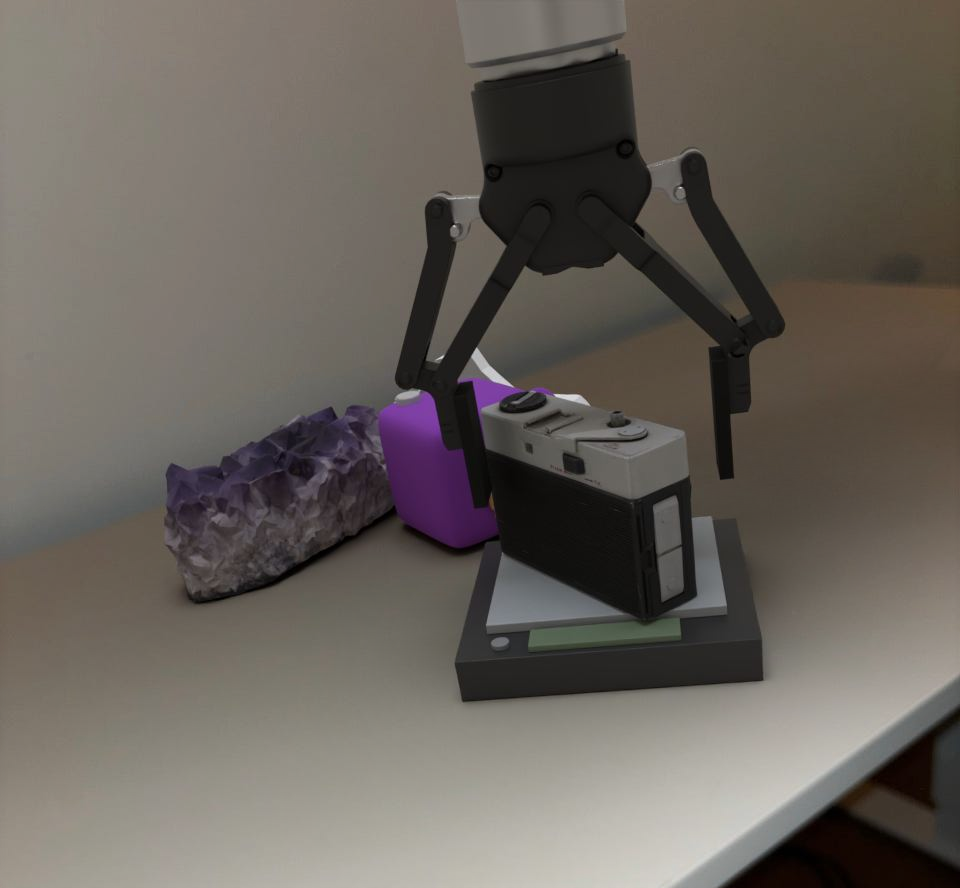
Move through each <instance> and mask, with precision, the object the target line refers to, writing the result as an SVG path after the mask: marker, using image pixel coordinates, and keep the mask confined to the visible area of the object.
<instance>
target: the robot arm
mask: <svg viewBox="0 0 960 888" xmlns="http://www.w3.org/2000/svg"><path fill="white" fill-rule="evenodd" d="M625 5H626V4H625V0H455V7H456V12H457V18H458V23H459V30H460V36H461V41H462V48H463V54H464V59H465V60H464V61H465V64H466V65H467V66H468V67H469V68H470V69H479V73H480V78H481V80H480V81H477V82H475V83H473V88H474V89H473V90H471V91H470V98H471V103H472V109H473V110H472V111H473V116H474V123H475V129H476V134H477V140H478V148H479V153H480V159H481V166H482V171H483V172H482V173H483V183H482V184H483V185H482V189H481V193H477V194H456V195H453V194H452V193H451V192H449V191H447V190H440V191H438V192H436V193H435V194H434V195H433V196H432V197H431V198H430V199H429V200H428V201H427V202H426V204H425V206H424V222H425V233H426V244H427V245H426V246H427V248H426V253H425V256H424V260H423V264H422V268H421V272H420V275H419V279H418V284H417V288H416V292H415V296H414V298H413V299H414V300H413V303H412V307H411V311H410V315H409V319H408V323H407V325H406V331H405V334H404V338H403V342H402V347H401V351H400V354H399V358H398V362H397V366H396V370H395V374H394V382H395V384H396V386H397V387H398V388H399V389H401V390H403V391H410V390H411V389H412V388H413V389H418V390H422V391H423V392H427V393H429V394H430V395H431V396H432V397H433V399H434V402H435V406H436V411H437V416H438V421H439V425H440V431H441V436H442V441H443V444H444V445H445V447H446V448H447V450H448V451H451V450H459V449H463V453H464V458H465V464H466V469H467V474H468V479H469V484H470V489H471V494H472V500H473V505H474V509H478V508H487V507H488V503H489V499H490V496H491V492H492V484H491V478H490V473H489V467H488V462H487V457H486V451H485V446H484V440H483V435H482V429H481V424H480V418H479V413H478V407H477V402H476V396H475V391H474V385H473V381H466V382H459V385H458V378H459V377H460V375H461V373H462V371H463V370H464V368H465V366H466V365H467V363H468V361H469V360H470V358H471V356H472V354H473V353H474V351H475V349H476V348H478V346H479V344H480V343H481V341H482V339H483V338H484V336H485V334H486V332H487V331H488V329H489V327H490V326H491V324H492V322H493V320H494V319H495V317H496V315H497V314H498V312H499V310H500V309H501V307H502V306H503V303H504V302H505V300H506V298H507V297H508V295H509V294H510V292H511V290H512V289H513V287H514V286H515V284H516V282H517V280H518V278H520V275H521V274H522V272H523V270H524V268H525V267H526V268H527V269H529V270H530V271H533V272H535V273H538V274H541V276H542V277H545V276H552V275H558V274H560V273H562V272H565V271H567V270H569V269H572V268H578V269H587V270H589V269H595V268H602V267H605V264H607V263H608V262H610V261H612V260H613V259H614V258H615V257H616V256H617V255H618V254H619V255H620V256H621V257H622V258H623V259H624V260H626V262H627V263H628V264H630V265H631V266H632V267H633V268H634V269H636V270H637V271H638V272H640V273H642V274H643V275H644V276H645V277H646V278H647V279H648V280H649V281H650V282H651V283H653V284H654V286H656V288H657V289H658V290H660V291H661V292H662V293H663V294H664V295H665V296H666V297H667V298H669V299H670V301H671V302H672V303H673V304H675V305H676V306H677V307H678V308H679V309H680V310H681V311H682V312H683V313H684V314H686V316H688V318H690V320H692V321H693V322H694V323H695V324H696V325H697V326H698V327H699V328H701V330H703V331H704V332H705V333H706V334H707V335H708V336H709V337H710V338H711V339H712V340H713V341H714V342H715V343H717V345H716V346H708V347H707V348H708V349H707V350H708V361H709V375H710V376H709V377H710V390H711V405H712V419H713V420H712V421H713V433H714V447H715V448H714V449H715V462H716V466H717V472H718V478H719V480H720V481H723V480H724V481H725V480H733V479H735V471H734V467H735V466H734V453H733V435H732V421H731V420H732V419H731V415H734V414H735V415H736V414H743V413H749V411H750V408H751V405H752V387H751V386H752V385H751V370H750V369H751V367H750V355H751V352H752V350H753V349H754V347H756V346H757V345H758V344H760V343H761V342H764V341H766V340H768V339H775V338H779V337H780V336H781V335H782V334H783V333H784V331H785V330H786V322H785V319H784V316H783V314H782V313H781V310H780V308H779V307H778V305H777V303H776V302H775V300H774V298H773V297H772V295H771V293H770V292H769V290H768V288H767V287H766V285H765V283H764V281H763V279H762V278H761V276H760V275H759V272H758V271H757V269H756V268H755V266H754V265H753V263H752V261H751V259H750V258H749V255H748V254H747V253H746V251H745V249H744V247H743V246H742V244H741V242H740V241H739V239H738V237H737V236H736V234H735V232H734V230H733V229H732V227H731V226H730V224H729V222H728V221H727V219H726V217H725V215H724V214H723V212H722V209H720V207H719V205H718V203H717V202H716V200H715V199H714V197H713V191H712V185H711V180H710V175H709V169H708V162H707V160H706V158H705V156H704V153H703V152H702V151H701V150H700V149H699V148H698V147H695V146H689V147H686V148H684V149H683V150H682V151H681V152H680V155H676V156H674V157H670V158H667V159H663V160H659V161H657V162H652V163H650V164H647V163H646V162H645V160H644V158H643V157H642V155H641V153H640V149H639V139H638V131H637V130H638V129H637V119H636V109H635V108H636V107H635V98H634V88H633V87H634V86H633V76H632V66H631V60H629V59H626V54H624V53H619V48H618V47H617V48H616V43H615V42H616V41H619V40H622V39H623V38H624V36H625V35H626V33H627V32H628V28H627V26H628V25H627V15H626V6H625ZM653 189H660V190H662V191H664V192H665V194H666V195H667V197H668V199H669V201H670V202H671V203H673V204H674V205H685V204H687V206H688V210H689V212H690V215H691V217H692V219H693V221H694V223H695V225H696V226H697V228H698V229H699V231H700V233H701V235H702V236H703V238H704V240H705V241H706V243H707V245H708V246H709V248H710V250H711V251H712V253H713V254H714V256H715V258H716V259H717V261H718V263H719V264H720V266H721V268H722V269H723V271H724V273H725V275H726V276H727V277H728V279H729V282H731V284H732V287H733V288H734V289H735V291H736V293H737V294H738V296H739V298H740V299H741V301H742V302H743V304H744V306H745V307H746V309H747V310H748V312H749V313H748V314H746V315H744V316H742V317H740V318H737V317H736V316H735V315H734V314H732V313H731V312H730V311H729V310H728V309H727V308H726V307H725V306H724V305H723V304H722V303H721V302H720V301H719V300H718V299H717V298H716V297H715V296H713V294H712V293H711V292H709V291H708V290H707V289H706V288H705V286H703V285H702V284H701V283H700V282H699V281H698V280H697V279H696V278H695V277H694V276H693V275H692V274H690V273H689V272H688V271H687V269H685V268H684V267H683V266H682V265H681V264H680V263H679V262H678V261H676V259H675V258H674V257H672V256H671V255H670V253H668V252H667V250H665V249H664V248H663V246H661V245H660V244H659V243H658V242H657V241H656V240H655V238H654V237H653V236H652V235H651V234H650V233H649V232H648V231H647V230H646V229H645V228H644V227H643V226H642V225H641V224H639V222H638V221H637V219H638V217H639V215H640V213H641V211H642V210H643V208H644V207H645V205H646V202H647V200H648V199H649V197H650V194H651V193H652V190H653ZM477 219H481V220H482V222H483V223H484V224H485V225H486V227H488V229H489V230H491V232H492V233H493V234H494V235H495V236H496V237H497V238H498V239H499V240H500V241H501V242H502V243H503V244H504V245H505V248H504V250H503V252H502V254H501V255H500V257H499V258H498V260H497V262H496V264H495V266H494V267H493V269H492V271H491V273H490V275H489V276H488V278H487V280H486V282H485V283H484V285H483V287H482V288H481V290H480V291H479V294H478V295H477V297H476V299H475V301H474V302H473V304H472V306H471V308H470V309H469V311H468V313H467V315H466V316H465V319H464V320H463V322H462V323H461V325H460V327H459V329H458V331H457V332H456V333H455V336H454V337H453V340H452V341H451V343H450V345H449V347H448V348H447V350H446V351H445V354H443V355H444V357H443V359H442V360H441V362H440V363H435V362H434V361H432V360H431V361H430V360H427V358H428V355H429V350H430V347H431V344H432V340H433V336H434V332H435V329H436V325H437V322H438V317H439V314H440V309H441V307H442V303H443V298H444V295H445V291H446V287H447V284H448V281H449V277H450V273H451V269H452V265H453V262H454V258H455V254H456V249H457V243H459V242H462V241H464V240H465V239H466V238H467V236H468V235H469V233H470V230H471V226H472V222H474V221H475V220H477Z"/></svg>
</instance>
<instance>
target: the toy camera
mask: <svg viewBox="0 0 960 888" xmlns="http://www.w3.org/2000/svg"><path fill="white" fill-rule="evenodd" d="M466 381H473V385H474V391H475V396H476V402H477V407H478V413H479V418H480V424H481V429H482V435H483V440H484V446H485V439H484V433H483V426H482V420H481V414H480V412H481V410H482V408H484V407H487V406H489V405H492V404H495V403H498V402H500V401H501V400H502V399H504V398H505V397H507V396H509V395H512V394H515V393H519V392H526V391H527V390H523V389H521V388H518V387H515V386H513V387H511V386H507V385H504V384H500V383H496V382H493V381H489V380H484V379H479V378H468V379H464V380H460V381H458V385H459V382H466ZM530 391H536V392H540V393H543V394H547V395H551V396H555V395H554V394H555V393H553V392H551V391H550V390H549V389H547V388H545V387H534V388H532V389H531V390H530ZM555 397H556V396H555ZM395 398H396V400H395V402H396V403H394V402H393V403H392V404H389V405H388V406H386V407H384V408H383V409H381V411H380V412H379V417H378V427H379V434H380V440H381V445H382V449H383V454H384V459H385V463H386V468H387V473H388V477H389V482H390V487H391V491H392V496H393V500H394V504H395V505H394V507H395V511H396V512H397V513H396V514H397V515H398V516H399V518H400V520H401V521H402V522H404V524H406V525H408V526H410V527H411V528H413V529H415V530H417V531H419V532H421V533H423V534H424V535H427V536H428V537H430V538H432V539H434V540H436V541H438V542H440V543H441V544H444V545H446V546H448V547H450V548H455V549H464V548H468V547H472V546H475V545H477V544H480V543H482V542H484V541H486V540H489V539H492V538H495V537H496V536H499V533H498V527H497V521H496V519H495V514H494V506H493V500H492V493H491V496H490V499H489V503H488V507H487V508H478V509H474V505H473V500H472V494H471V489H470V484H469V479H468V474H467V469H466V464H465V458H464V453H463V449H459V450H451V451H448V450H447V448H446V447H445V445H444V444H443V441H442V436H441V431H440V425H439V421H438V416H437V411H436V406H435V402H434V399H433V397H432V396H431V395H430V394H429V393H427V392H426V391H423V392H420V393H419V392H418V391H410V390H407V391H404V392H401V393H399V394H397V395H396V396H395ZM485 451H486V450H485Z"/></svg>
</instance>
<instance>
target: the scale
mask: <svg viewBox="0 0 960 888" xmlns="http://www.w3.org/2000/svg"><path fill="white" fill-rule="evenodd" d="M737 521H738V520H737V518H736V517H728V518H719V519H718V518H717V519H713V516H712V515H709V516H698V517H692V528H693V542H694V556H695V574H696V586H697V596H696V597H695V598H693V599H691V600H689V601H687V602H685V603H683V604H681V605H679V606H677V607H675V608H673V609H672V610H670V611H668V612H666V613H664V614H662V615H660V616H658V617H656V618H654V619H652V620H650V621H648V622H645V621H643V620H641V619H639V618H637V617H635V616H633V615H631V614H629V613H627V612H625V611H623V610H621V609H619V608H617V607H614V606H612V605H610V604H608V603H606V602H604V601H602V600H600V599H598V598H596V597H594V596H592V595H590V594H588V593H586V592H583V591H581V590H579V589H577V588H575V587H573V586H571V585H569V584H567V583H565V582H563V581H560V580H558V579H556V578H554V577H552V576H550V575H548V574H545V573H543V572H541V571H539V570H537V569H535V568H533V567H531V566H529V565H527V564H525V563H523V562H520V561H518V560H516V559H514V558H512V557H510V556H508V555H506V554H504V553H503V552H502V550H501V544H500V540H494V541H493V540H492V541H486V542H485V544H484V548H483V551H482V554H481V555H482V556H481V559H480V563H479V567H478V571H477V575H476V579H475V582H474V586H473V590H472V594H471V598H470V601H469V604H468V605H469V606H468V609H467V612H466V616H465V619H464V625H463V628H462V632H461V636H460V640H459V643H458V648H457V650H456V651H457V652H456V655H455V658H454V659H455V660H454V667H455V672H456V678H457V683H458V688H459V692H460V697H461V701H462V702H466V701H467V702H468V701H481V700H494V699H495V700H496V699H507V698H522V697H523V698H524V697H537V696H551V695H552V696H553V695H566V694H579V693H580V694H582V693H593V692H594V693H595V692H596V693H597V692H607V691H621V690H623V691H624V690H636V689H647V688H648V689H652V688H653V689H654V688H663V687H664V688H665V687H679V686H681V687H682V686H693V685H708V684H709V685H710V684H721V683H723V684H724V683H737V682H750V681H762V680H764V657H763V655H764V654H763V637H762V632H761V627H760V624H759V623H760V622H759V618H758V614H757V609H756V604H755V600H754V596H753V591H752V587H751V582H750V577H749V573H748V568H747V563H746V559H745V554H744V549H743V544H742V541H741V540H742V539H741V535H740V530H739V526H738V522H737Z"/></svg>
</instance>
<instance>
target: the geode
mask: <svg viewBox="0 0 960 888" xmlns="http://www.w3.org/2000/svg"><path fill="white" fill-rule="evenodd" d="M379 414H380V412H379V411H378V410H377V409H376V408H375V407H372V406H369V405H361V404H351V405H349V406H347V407H346V410H345V412H344V416H339V417H338V416H337V413H336V412H335V410H334V408H333V407H332V406H328V407H325V408H323V409H321V410H318V411H316V412H314V413H311V414H310V415H308V416H306V415H303V414H300V413H298V414H296V416H294V417H293V418H292V419H290V420H289V421H288V423H286V425H285V424H281V425H279V426H278V427H276V428H273V429H272V430H271V432H270V433H269V434H268V435H267V436H265V437H263V438H262V439H260V440H258V441H257V442H256V441H249V442H248V443H247V444H246V445H243V446H242V447H239V448H238V449H237V450H235V451H234V452H231V453H230V454H229V455H224V456H222V458H221V461H220V463H219V466H217V465H201V466H194V467H191V468H190V469H186V468H184V467H182V466H180V465H178V464H176V463H173V462H170V464H169V465H168V467H167V469H166V471H165V480H166V494H167V495H166V500H165V508H166V511H167V512H166V513H165V515H164V517H163V527H164V546H165V547H167V549H168V550H169V552H170V553H171V554H172V555H173V557H174V558H175V562H174V563H175V565H174V567H175V569H176V570H177V572H178V573H179V574H180V575H181V578H182V579H183V581H184V583H185V587H186V597H187V599H192V600H193V601H194V602H206V601H209V600H215V599H218V598H223V597H229V596H238V595H241V594H243V593H245V592H247V591H249V590H252V589H256V588H260V587H262V586H264V585H266V584H269V583H271V582H274V581H275V580H277V579H278V578H279V577H280V576H282V575H284V574H285V573H287V572H288V571H289V570H291V569H293V568H295V567H296V566H298V565H300V564H301V563H304V562H305V561H307V560H308V559H310V558H311V557H313V556H314V555H317V554H319V553H320V552H323V551H324V550H326V549H328V548H330V547H332V546H334V545H336V544H339V543H341V542H342V541H343V540H344V539H345V537H347V536H356V535H357V534H358V533H359V532H360V530H361V529H362V528H364V527H367V526H370V525H371V524H372V523H373V522H374V521H375V520H376V519H379V518H380V517H382V516H383V515H385V514H386V513H387V512H389V511H390V510H391V509H392V508H393V507H395V504H394V500H393V496H392V491H391V487H390V482H389V477H388V473H387V468H386V463H385V459H384V454H383V449H382V445H381V440H380V434H379V427H378V417H379Z"/></svg>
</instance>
